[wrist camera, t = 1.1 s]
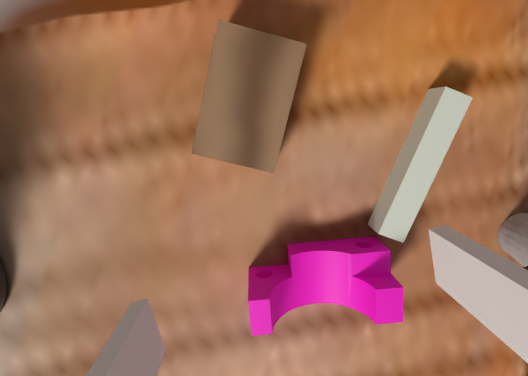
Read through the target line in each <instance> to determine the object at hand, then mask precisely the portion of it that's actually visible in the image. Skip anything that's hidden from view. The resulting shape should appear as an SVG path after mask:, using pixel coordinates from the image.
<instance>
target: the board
mask: <svg viewBox="0 0 528 376" xmlns="http://www.w3.org/2000/svg"><path fill="white" fill-rule="evenodd" d="M471 100H472V97H470V96H468V95H465V94H463V93H461V92H458V91H456V90H453V89H451V88H449V87H446V86H445V87H439V88H432V89H428V90H427V93H426V95H425V97H424V99H423V102H422V104H421V106H420V108H419V110H418V113H417V115H416V117H415V119H414V122H413V124H412V126H411V128H410V130H409V133H408V135H407V137H406V139H405V142H404V144H403V146H402V148H401V150H400V153H399V155H398V157H397V159H396V162H395V164H394V166H393V168H392V170H391V173H390V175H389V177H388V179H387V182H386V184H385V186H384V188H383V191H382V193H381V195H380V197H379V199H378V202H377V204H376V206H375V208H374V211H373V213H372V215H371V217H370V219H369V222H368V225H369V226H370V227H371V228H372V229H373V230H374V231H375V232H377V233H378V234H380V235H383V236H385V237H388V238H391V239H394V240H397V241H399V242H402V243H404V241H405V239H406V237H407V234H408V232H409V230H410V228H411V226H412V224H413V222H414V220H415V218H416V216H417V214H418V211H419V209H420V207H421V205H422V203H423V201H424V199H425V197H426V195H427V193H428V190H429V188H430V186H431V184H432V182H433V180H434V178H435V176H436V174H437V172H438V169H439V167H440V165H441V163H442V161H443V159H444V157H445V155H446V153H447V151H448V148H449V146H450V144H451V142H452V140H453V138H454V136H455V134H456V132H457V130H458V127H459V125H460V123H461V121H462V119H463V117H464V115H465V113H466V111H467V109H468V107H469V104H470V102H471Z"/></svg>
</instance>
